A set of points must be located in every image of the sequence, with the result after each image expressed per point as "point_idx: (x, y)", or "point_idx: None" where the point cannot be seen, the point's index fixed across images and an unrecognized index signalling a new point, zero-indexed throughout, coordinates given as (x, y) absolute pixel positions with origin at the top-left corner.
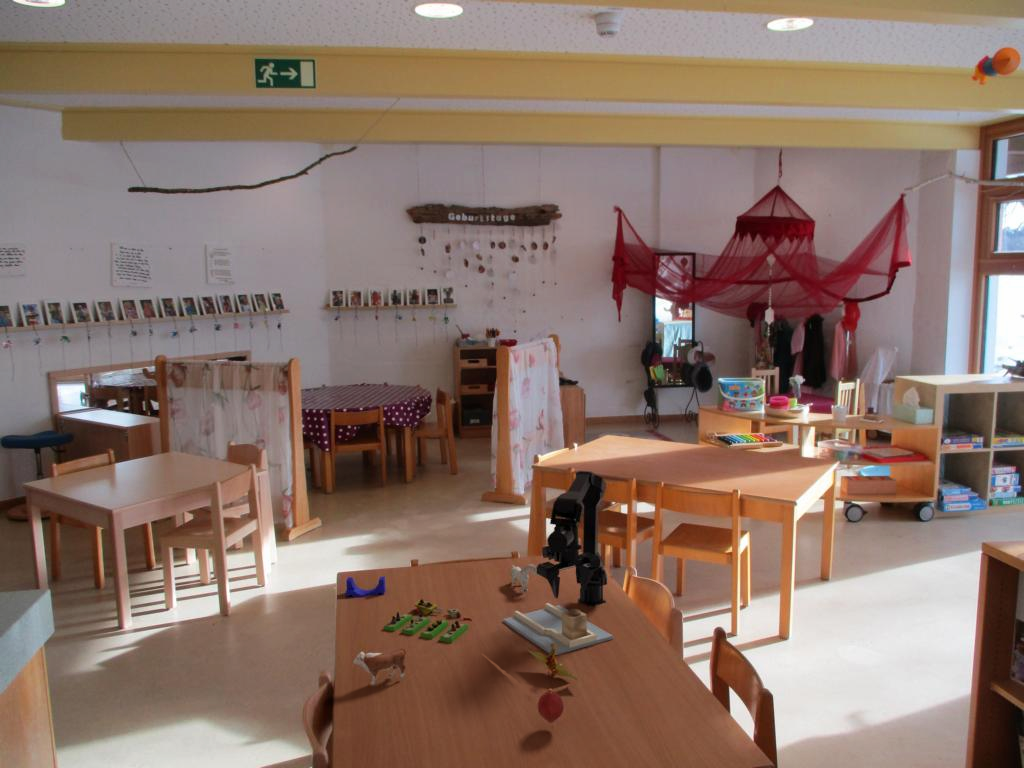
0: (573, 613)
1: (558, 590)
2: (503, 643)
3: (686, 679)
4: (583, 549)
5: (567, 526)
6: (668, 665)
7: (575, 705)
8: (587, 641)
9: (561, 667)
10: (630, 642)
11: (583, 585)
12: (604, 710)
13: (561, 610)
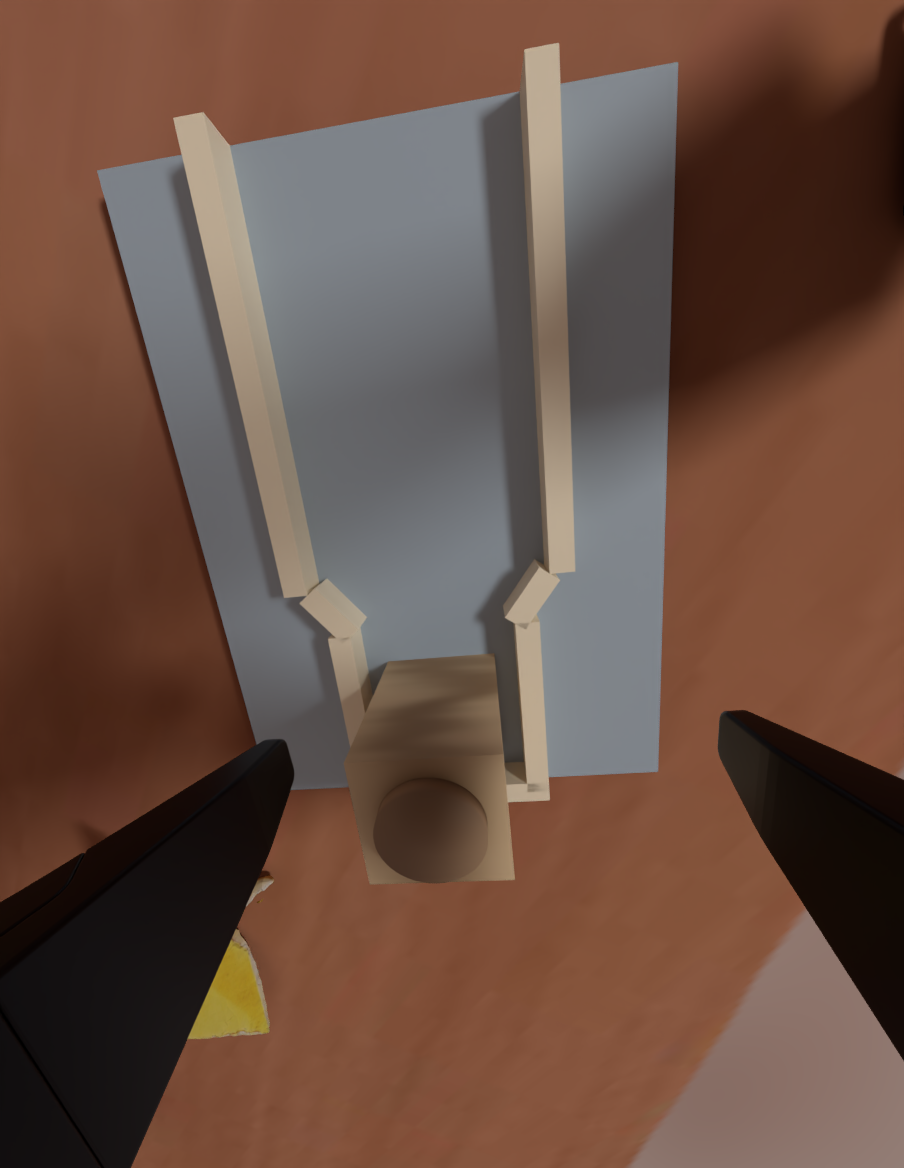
0: (407, 864)
1: (226, 930)
2: (68, 539)
3: (653, 1104)
4: None
5: None
6: (678, 1026)
7: (223, 1063)
8: None
9: (196, 1025)
10: (701, 822)
11: (773, 837)
12: (295, 1110)
13: (618, 221)
